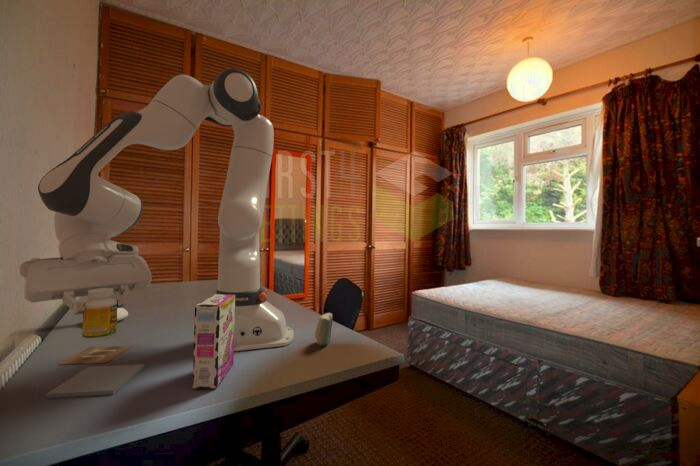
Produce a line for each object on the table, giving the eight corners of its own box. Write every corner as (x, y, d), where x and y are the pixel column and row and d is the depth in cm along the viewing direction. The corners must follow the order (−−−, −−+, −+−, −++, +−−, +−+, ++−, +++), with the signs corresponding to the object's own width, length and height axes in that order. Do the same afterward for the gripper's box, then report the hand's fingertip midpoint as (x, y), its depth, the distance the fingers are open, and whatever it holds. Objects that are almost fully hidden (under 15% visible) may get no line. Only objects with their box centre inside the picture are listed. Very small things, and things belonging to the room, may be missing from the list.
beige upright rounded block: (337, 346, 82) (337, 316, 82) (318, 349, 80) (319, 318, 80) (330, 339, 87) (330, 311, 87) (312, 341, 85) (313, 313, 85)
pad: (144, 367, 67) (144, 364, 67) (113, 394, 56) (113, 390, 56) (89, 370, 66) (89, 366, 66) (46, 398, 55) (46, 393, 55)
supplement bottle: (85, 335, 62) (86, 288, 62) (118, 331, 65) (119, 286, 65) (78, 343, 57) (80, 293, 57) (114, 339, 60) (115, 290, 60)
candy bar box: (218, 389, 59) (219, 305, 59) (191, 390, 58) (192, 305, 58) (235, 364, 70) (236, 293, 70) (212, 364, 70) (213, 293, 70)
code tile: (132, 346, 79) (132, 345, 79) (107, 362, 69) (107, 362, 69) (89, 347, 78) (89, 347, 78) (58, 364, 68) (58, 364, 68)
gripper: (20, 248, 57) (28, 310, 51) (145, 246, 73) (161, 292, 67) (16, 270, 59) (23, 330, 54) (137, 263, 76) (153, 309, 70)
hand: (101, 309), depth 61 cm, fingers closed on supplement bottle, 5 cm apart
